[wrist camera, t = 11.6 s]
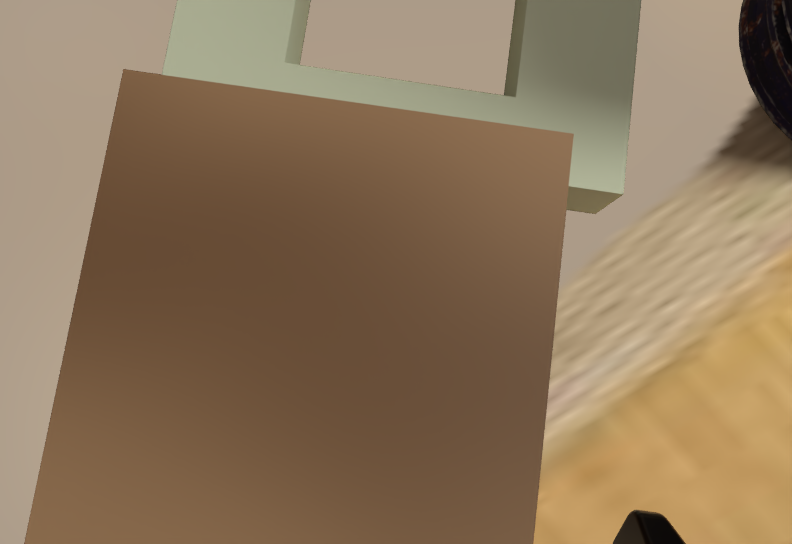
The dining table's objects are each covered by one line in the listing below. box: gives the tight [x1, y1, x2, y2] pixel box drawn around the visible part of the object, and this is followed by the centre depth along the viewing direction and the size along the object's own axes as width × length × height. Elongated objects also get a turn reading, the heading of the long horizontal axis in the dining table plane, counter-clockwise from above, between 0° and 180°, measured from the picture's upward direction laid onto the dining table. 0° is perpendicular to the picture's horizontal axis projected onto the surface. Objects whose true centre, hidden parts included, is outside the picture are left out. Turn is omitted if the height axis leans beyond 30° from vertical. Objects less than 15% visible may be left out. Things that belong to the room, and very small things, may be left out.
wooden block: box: [24, 69, 574, 544], centre depth 14 cm, size 5×5×14 cm
